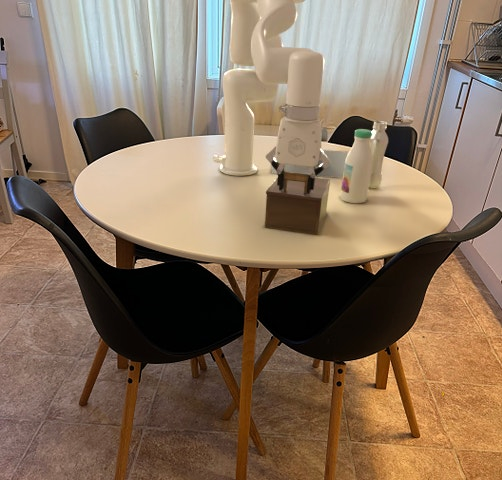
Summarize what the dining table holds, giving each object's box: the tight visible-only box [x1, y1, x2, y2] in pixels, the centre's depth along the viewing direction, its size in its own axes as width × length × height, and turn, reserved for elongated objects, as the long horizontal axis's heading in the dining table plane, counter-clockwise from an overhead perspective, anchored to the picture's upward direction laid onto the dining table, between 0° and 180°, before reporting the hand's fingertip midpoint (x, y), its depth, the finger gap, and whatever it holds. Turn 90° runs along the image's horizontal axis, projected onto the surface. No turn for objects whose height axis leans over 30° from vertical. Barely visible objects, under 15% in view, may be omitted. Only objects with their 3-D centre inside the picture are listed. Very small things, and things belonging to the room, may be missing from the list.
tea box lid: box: [265, 171, 331, 201], centre depth 121 cm, size 16×14×6 cm
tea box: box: [264, 182, 331, 236], centre depth 125 cm, size 16×14×9 cm
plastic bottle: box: [369, 120, 389, 189], centre depth 148 cm, size 6×7×20 cm
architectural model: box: [270, 124, 349, 179], centre depth 172 cm, size 35×28×14 cm
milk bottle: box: [340, 128, 373, 204], centre depth 137 cm, size 8×8×20 cm
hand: (295, 189), depth 116 cm, fingers closed on tea box lid, 6 cm apart
